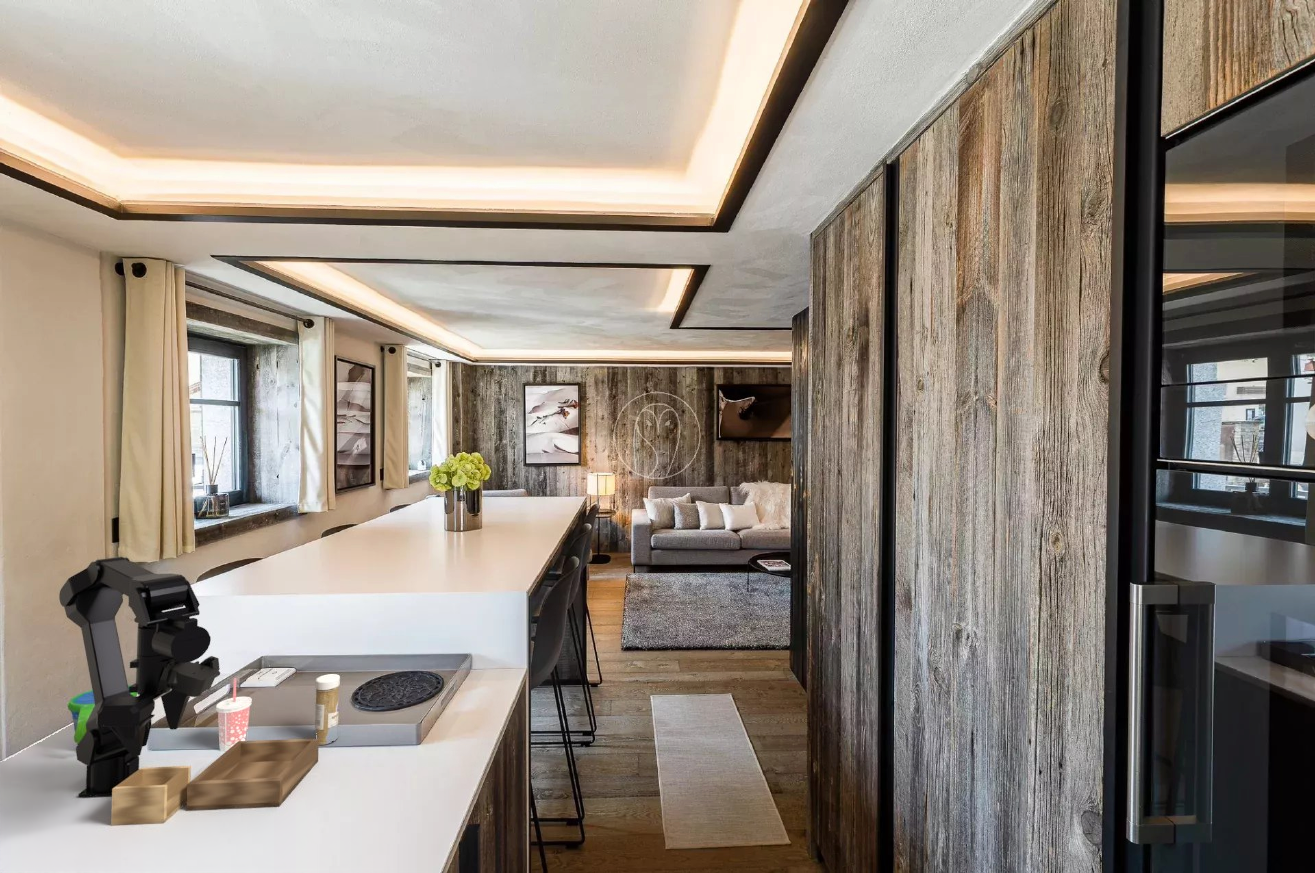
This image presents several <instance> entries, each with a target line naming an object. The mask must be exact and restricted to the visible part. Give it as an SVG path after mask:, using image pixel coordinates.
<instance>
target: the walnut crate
mask: <svg viewBox="0 0 1315 873" xmlns="http://www.w3.org/2000/svg"><path fill="white" fill-rule="evenodd" d="M319 746H320V745H319V739H315V738H297V739H295V738H293V739H292V738H290V739H269V740H268V739H263V740H247V741H238V742H237V743H236V744H234V745H233V746H232V747H231V748H230V749H228V750H227V751H226V752H225V751H224V753H223V754H221V755H220V756H219V757H218V758H217V759H216V760H214V761H213V762H212V763H210V764H209V765H208V766H207V767H206V768H205V769H203V771H201V772H200V773H199V774H198V775H197V776H196V777H194V778H193V779H191V780H190V783H188V784H187V803H186V811H189V812H190V811H208V810H209V811H210V810H211V811H212V810H213V811H214V810H230V809H231V810H234V809H255V808H279V807H280V806H282V804H283V803H284V802H285V801H286V799H287V798H288V797H289V796H290V795H291V793H293V791H294V790H295V789H296V788H297V787H298V785H299V784H300V783H301V782H302V781H303V780H304V779H305V777H306V776H307V775H308V774H309V773H310V771H311V770H312V769H313V768H314V767H315V765H316V764H317V763H318V762H319Z"/></svg>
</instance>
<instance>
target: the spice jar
mask: <svg viewBox="0 0 1315 873" xmlns="http://www.w3.org/2000/svg"><path fill="white" fill-rule="evenodd" d="M340 683H341V677H340V675H339V674H336V673H331V674H325V675H324V674H323V675H321V676H318V677H317V678H316V679H315V687H314V688H315V696H316V698H315V718H314V719H315V722H314V723H315V724H314V727H315V732H316V733H317V734H316V735H317V739H319V746H323V745H324V746H326V745H328V744H327V741H326V736H327V734H328V730H329V729H330V728H331V727H332V726H336V725H338V726H339V707H340V706H339V703H340V702H339V691H340V689H339V688H340Z"/></svg>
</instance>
